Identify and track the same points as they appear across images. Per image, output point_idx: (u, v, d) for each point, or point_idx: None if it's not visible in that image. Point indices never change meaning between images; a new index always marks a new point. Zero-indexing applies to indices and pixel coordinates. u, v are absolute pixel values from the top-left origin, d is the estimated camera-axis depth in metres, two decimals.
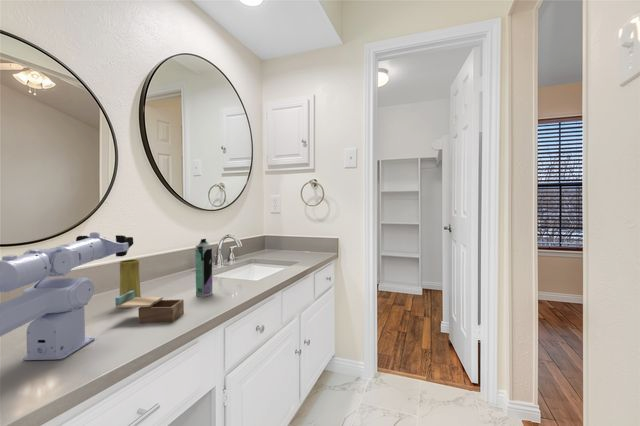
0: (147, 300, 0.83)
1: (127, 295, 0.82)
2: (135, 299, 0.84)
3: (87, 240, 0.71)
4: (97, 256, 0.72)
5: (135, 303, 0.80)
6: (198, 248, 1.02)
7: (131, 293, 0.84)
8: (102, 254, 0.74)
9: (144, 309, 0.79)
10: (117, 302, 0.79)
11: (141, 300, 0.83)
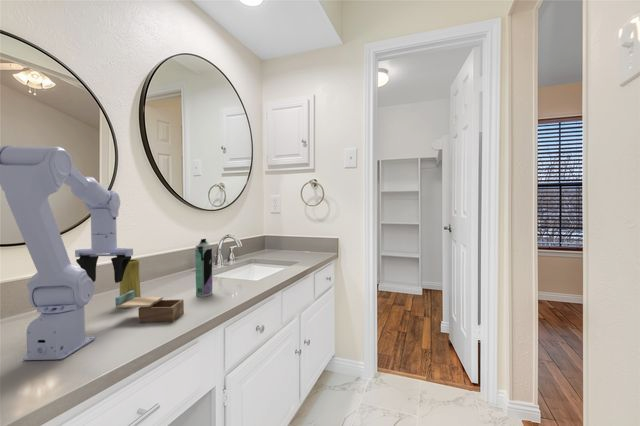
0: (147, 300, 0.83)
1: (127, 295, 0.82)
2: (135, 299, 0.84)
3: None
4: (109, 240, 0.80)
5: (135, 303, 0.80)
6: (198, 248, 1.02)
7: (131, 293, 0.84)
8: (109, 246, 0.80)
9: (144, 309, 0.79)
10: (117, 302, 0.79)
11: (141, 300, 0.83)
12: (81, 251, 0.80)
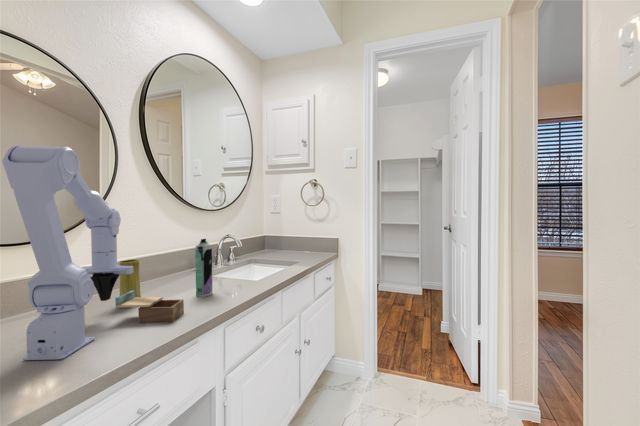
0: (147, 300, 0.83)
1: (127, 295, 0.82)
2: (135, 299, 0.84)
3: None
4: (109, 258, 0.80)
5: (135, 303, 0.80)
6: (198, 248, 1.02)
7: (131, 293, 0.84)
8: (110, 264, 0.80)
9: (144, 309, 0.79)
10: (117, 302, 0.79)
11: (141, 300, 0.83)
12: None
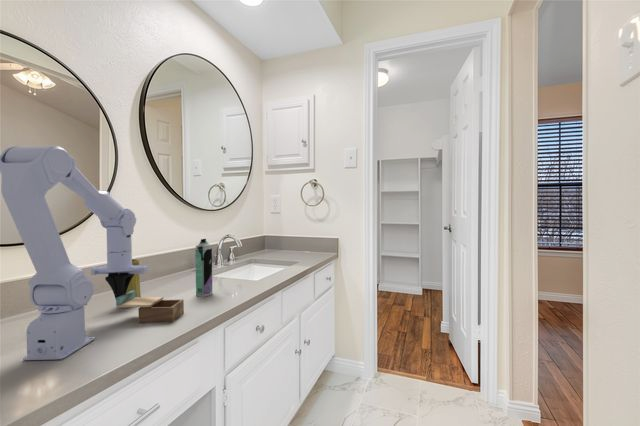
0: (147, 300, 0.83)
1: (128, 295, 0.82)
2: (136, 299, 0.84)
3: None
4: (125, 258, 0.80)
5: (136, 303, 0.80)
6: (198, 248, 1.02)
7: (132, 293, 0.84)
8: (125, 264, 0.80)
9: (144, 309, 0.79)
10: (118, 302, 0.79)
11: (142, 300, 0.83)
12: (97, 269, 0.80)
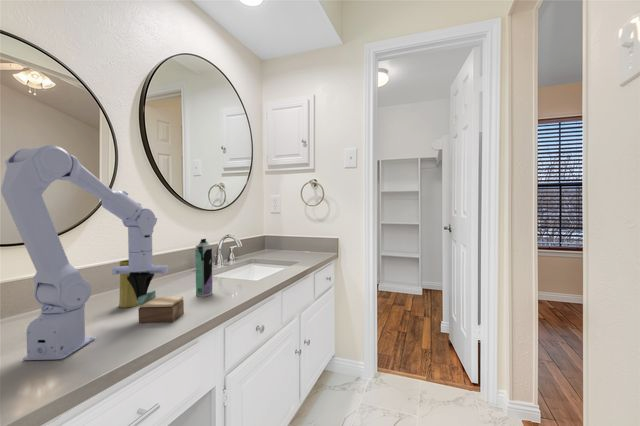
0: (168, 300, 0.83)
1: (149, 295, 0.82)
2: (156, 299, 0.84)
3: None
4: (146, 258, 0.81)
5: (157, 303, 0.80)
6: (198, 248, 1.02)
7: (152, 293, 0.84)
8: (146, 264, 0.81)
9: (144, 309, 0.79)
10: (140, 302, 0.79)
11: (162, 300, 0.83)
12: (118, 269, 0.80)
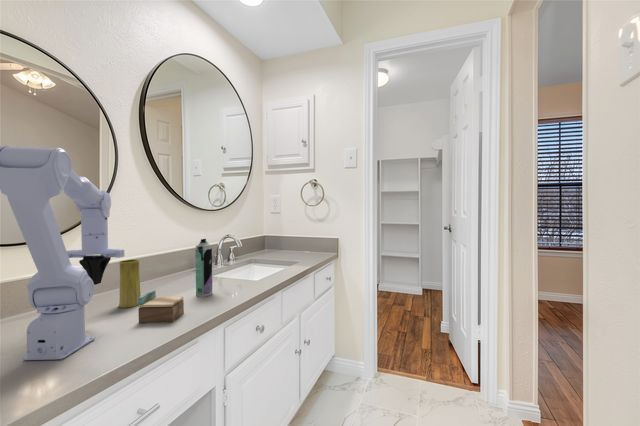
0: (168, 300, 0.83)
1: (149, 295, 0.82)
2: (156, 299, 0.84)
3: None
4: (99, 241, 0.78)
5: (157, 303, 0.80)
6: (198, 248, 1.02)
7: (152, 293, 0.84)
8: (100, 247, 0.78)
9: (144, 309, 0.79)
10: (140, 302, 0.79)
11: (162, 300, 0.83)
12: (71, 252, 0.78)
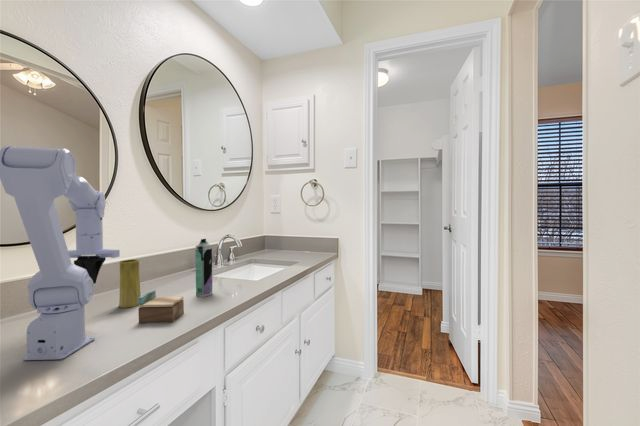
0: (168, 300, 0.83)
1: (149, 295, 0.82)
2: (156, 299, 0.84)
3: None
4: (94, 241, 0.78)
5: (157, 303, 0.80)
6: (198, 248, 1.02)
7: (152, 293, 0.84)
8: (95, 247, 0.78)
9: (144, 309, 0.79)
10: (140, 302, 0.79)
11: (162, 300, 0.83)
12: None
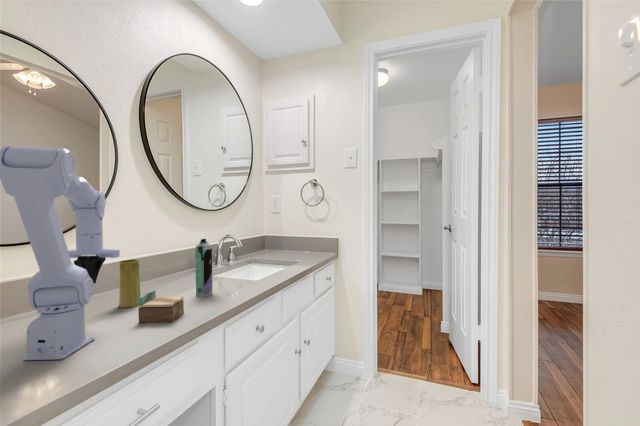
0: (168, 300, 0.83)
1: (149, 295, 0.82)
2: (156, 299, 0.84)
3: None
4: (94, 241, 0.78)
5: (157, 303, 0.80)
6: (198, 248, 1.02)
7: (152, 293, 0.84)
8: (95, 247, 0.78)
9: (144, 309, 0.79)
10: (140, 302, 0.79)
11: (162, 300, 0.83)
12: None
